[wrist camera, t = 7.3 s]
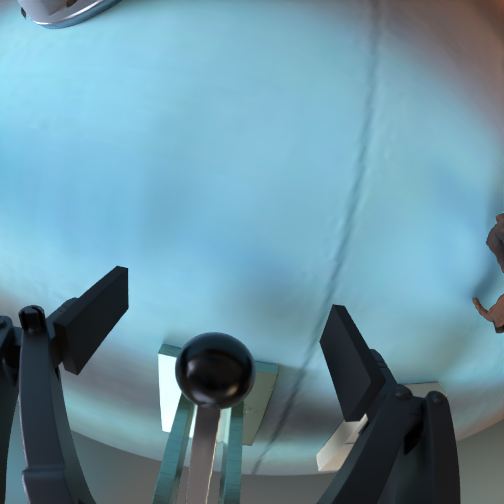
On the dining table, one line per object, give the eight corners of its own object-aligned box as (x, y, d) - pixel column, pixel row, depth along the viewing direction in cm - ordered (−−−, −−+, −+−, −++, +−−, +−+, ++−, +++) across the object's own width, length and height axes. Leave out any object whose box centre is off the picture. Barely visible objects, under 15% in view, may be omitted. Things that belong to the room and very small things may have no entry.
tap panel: (367, 384, 21) (376, 404, 18) (438, 381, 21) (449, 397, 19) (315, 455, 24) (318, 472, 22) (383, 449, 25) (388, 464, 22)
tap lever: (187, 322, 13) (173, 328, 10) (257, 335, 13) (267, 345, 10) (167, 522, 10) (159, 553, 6) (220, 531, 10) (219, 563, 7)
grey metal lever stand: (162, 343, 19) (89, 517, 5) (277, 363, 20) (294, 552, 5) (164, 422, 22) (131, 543, 8) (251, 437, 23) (250, 563, 9)
